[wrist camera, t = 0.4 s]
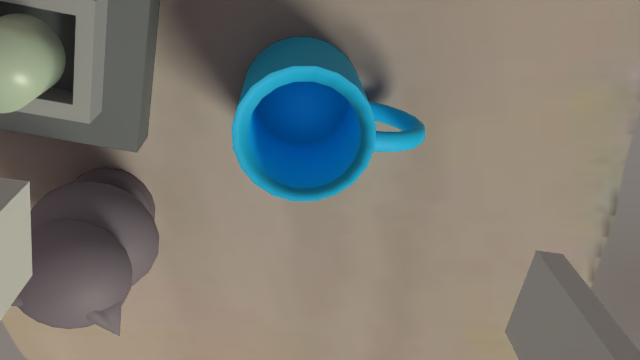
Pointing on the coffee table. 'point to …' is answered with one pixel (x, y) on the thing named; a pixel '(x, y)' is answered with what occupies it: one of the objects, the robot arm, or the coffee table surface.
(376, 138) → the mug
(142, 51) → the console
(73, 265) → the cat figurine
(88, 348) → the coffee table surface
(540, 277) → the robot arm
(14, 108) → the sage button
